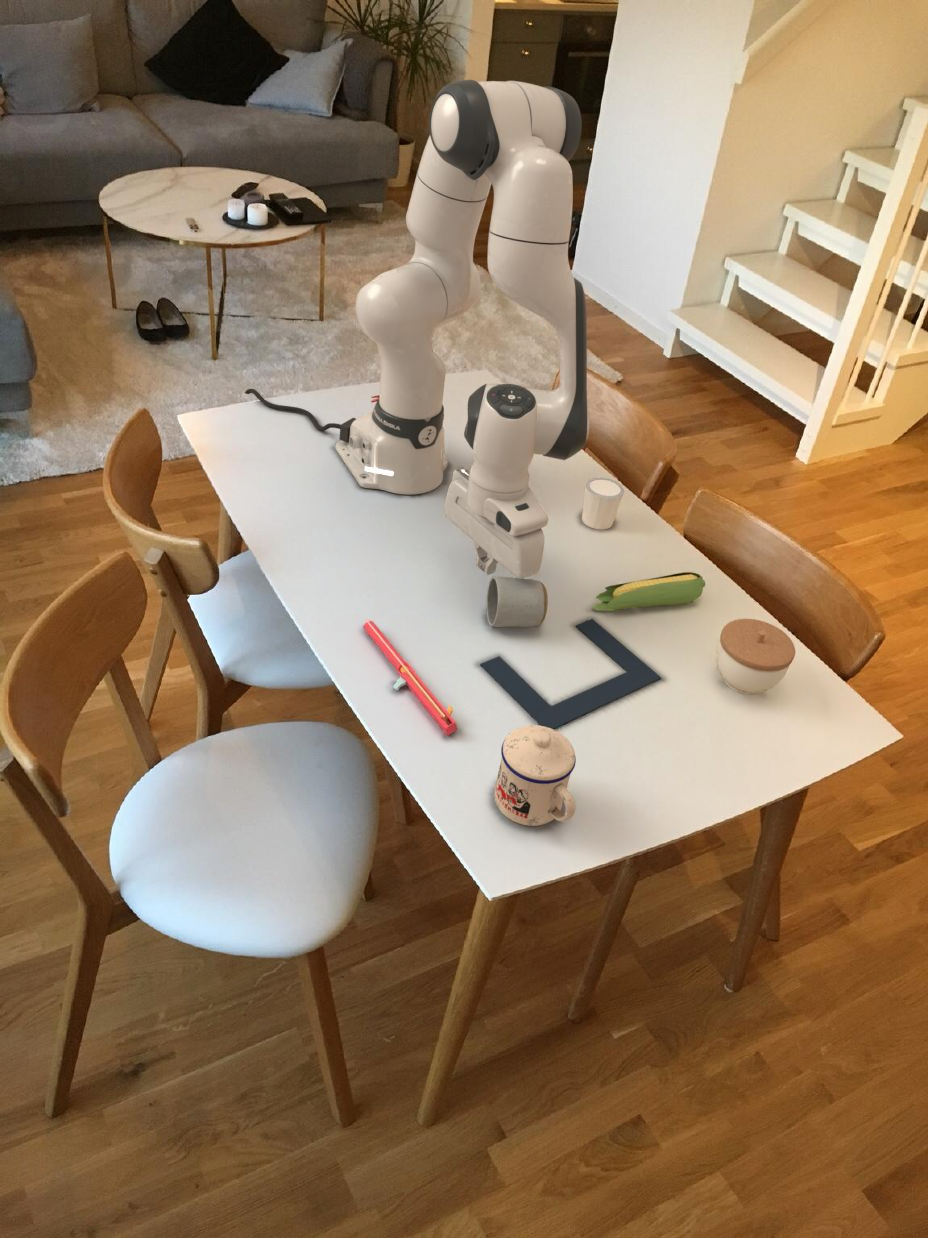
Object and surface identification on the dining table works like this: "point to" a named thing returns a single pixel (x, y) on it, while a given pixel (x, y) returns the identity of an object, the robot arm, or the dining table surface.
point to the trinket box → (753, 655)
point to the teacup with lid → (535, 776)
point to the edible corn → (652, 592)
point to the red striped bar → (412, 680)
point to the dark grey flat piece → (586, 700)
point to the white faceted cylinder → (601, 502)
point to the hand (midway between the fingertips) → (485, 569)
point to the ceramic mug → (516, 602)
